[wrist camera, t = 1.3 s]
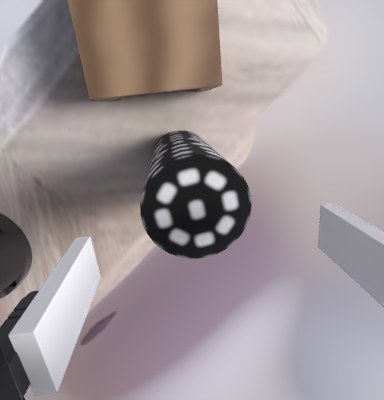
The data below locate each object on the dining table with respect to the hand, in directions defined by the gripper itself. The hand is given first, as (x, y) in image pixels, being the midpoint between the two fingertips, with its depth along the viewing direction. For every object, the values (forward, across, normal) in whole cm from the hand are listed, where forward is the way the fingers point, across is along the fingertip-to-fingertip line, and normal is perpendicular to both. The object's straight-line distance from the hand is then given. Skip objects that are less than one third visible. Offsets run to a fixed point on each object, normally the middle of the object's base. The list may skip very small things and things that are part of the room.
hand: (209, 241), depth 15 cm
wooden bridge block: (+25, -2, +16) cm, 30 cm away
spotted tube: (+25, 0, 0) cm, 25 cm away
